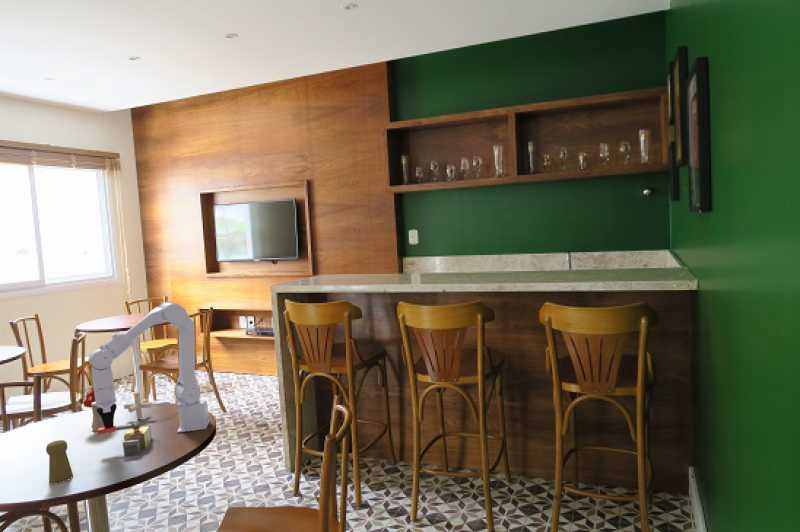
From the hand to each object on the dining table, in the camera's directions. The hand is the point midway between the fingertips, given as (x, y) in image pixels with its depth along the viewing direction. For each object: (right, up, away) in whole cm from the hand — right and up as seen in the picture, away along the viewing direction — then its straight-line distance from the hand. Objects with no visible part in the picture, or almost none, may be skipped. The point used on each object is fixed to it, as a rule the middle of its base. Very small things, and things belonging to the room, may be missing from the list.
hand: (109, 428), depth 182 cm
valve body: (+9, -6, +1) cm, 11 cm away
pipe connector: (-4, -5, +29) cm, 30 cm away
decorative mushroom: (-15, -7, +23) cm, 28 cm away
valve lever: (+4, 0, -1) cm, 4 cm away
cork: (-4, -9, -19) cm, 21 cm away
